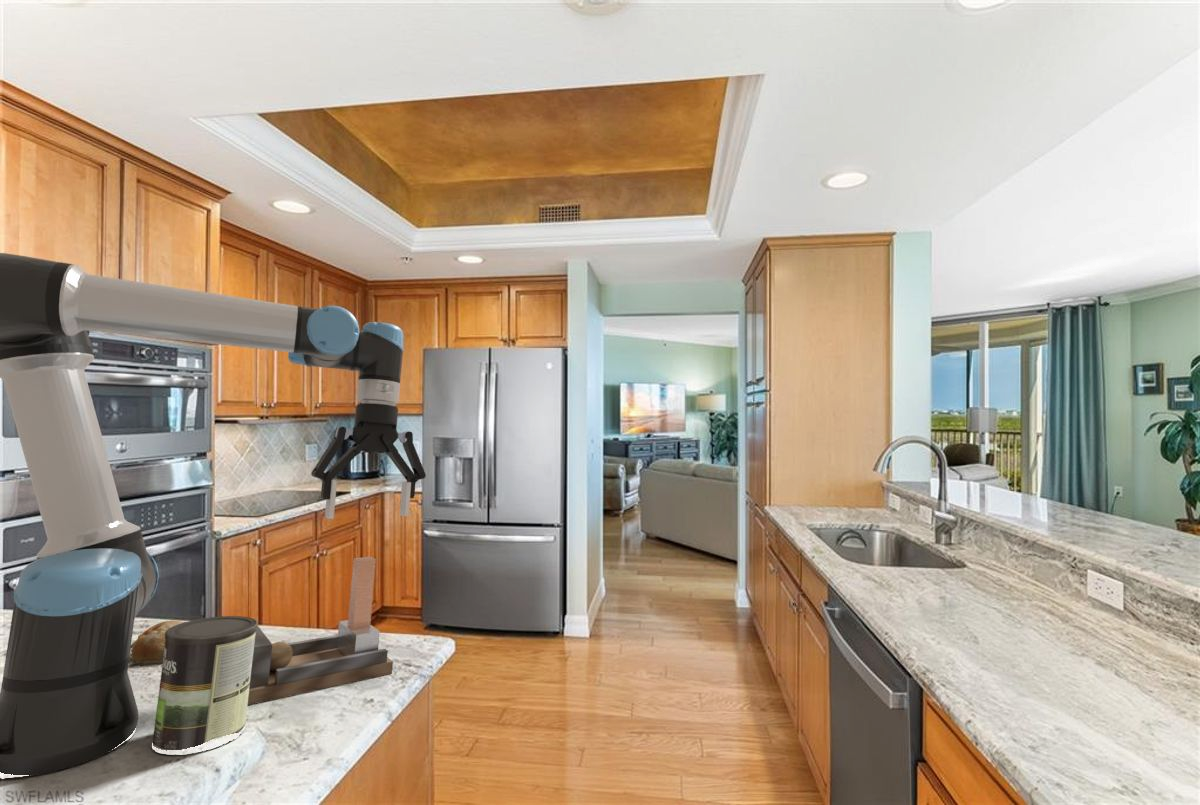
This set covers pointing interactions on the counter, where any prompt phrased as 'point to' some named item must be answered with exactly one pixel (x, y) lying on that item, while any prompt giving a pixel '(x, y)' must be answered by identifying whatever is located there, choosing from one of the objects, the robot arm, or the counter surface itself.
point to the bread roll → (151, 644)
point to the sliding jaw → (359, 611)
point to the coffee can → (204, 681)
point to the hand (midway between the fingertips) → (368, 517)
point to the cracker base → (308, 667)
